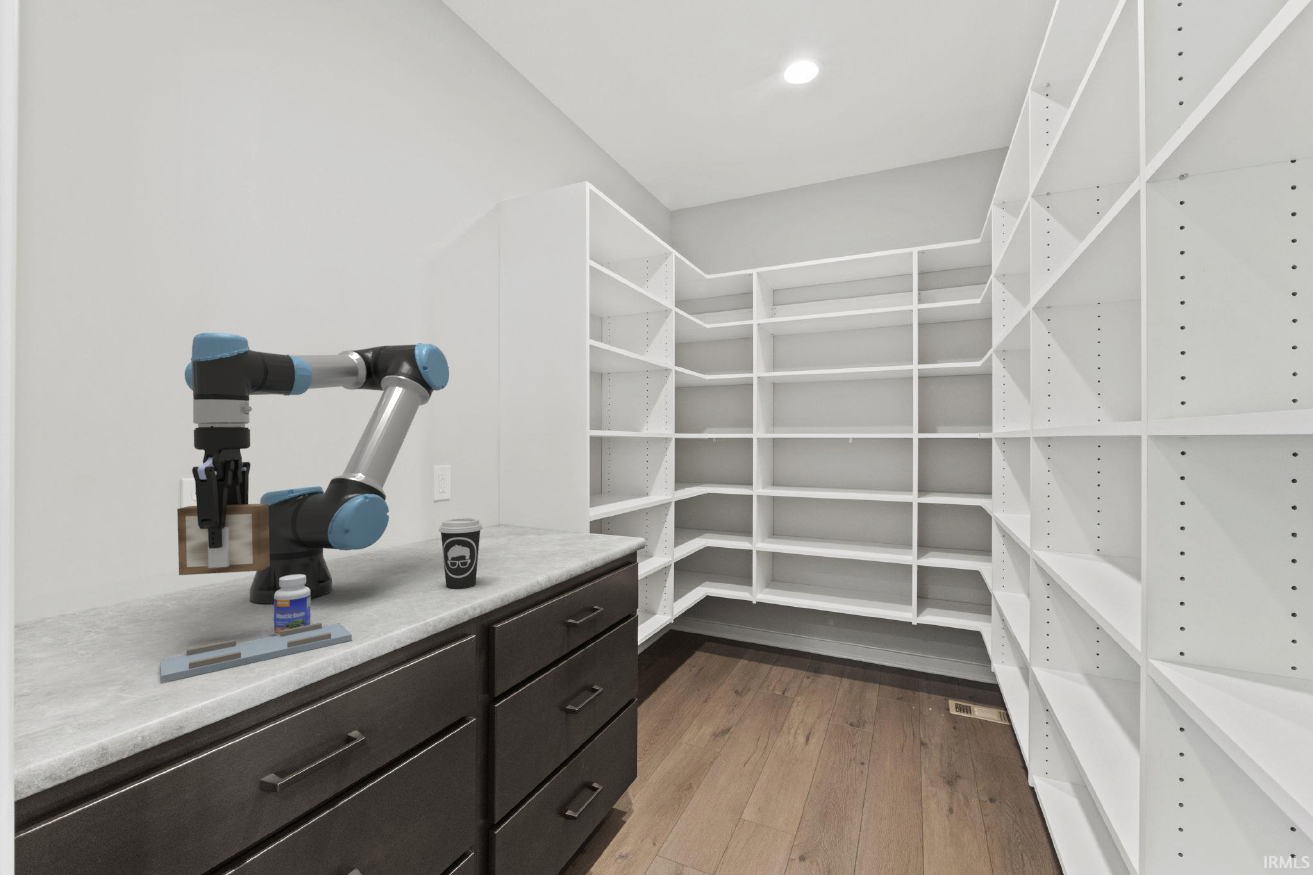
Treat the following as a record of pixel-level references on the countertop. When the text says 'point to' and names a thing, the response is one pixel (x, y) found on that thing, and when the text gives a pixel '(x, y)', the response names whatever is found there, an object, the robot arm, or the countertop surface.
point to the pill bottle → (291, 603)
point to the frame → (244, 540)
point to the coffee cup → (460, 551)
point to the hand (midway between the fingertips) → (225, 563)
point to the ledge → (251, 650)
